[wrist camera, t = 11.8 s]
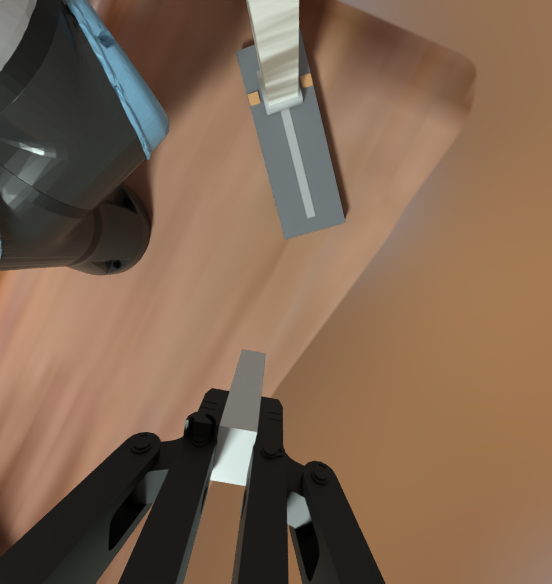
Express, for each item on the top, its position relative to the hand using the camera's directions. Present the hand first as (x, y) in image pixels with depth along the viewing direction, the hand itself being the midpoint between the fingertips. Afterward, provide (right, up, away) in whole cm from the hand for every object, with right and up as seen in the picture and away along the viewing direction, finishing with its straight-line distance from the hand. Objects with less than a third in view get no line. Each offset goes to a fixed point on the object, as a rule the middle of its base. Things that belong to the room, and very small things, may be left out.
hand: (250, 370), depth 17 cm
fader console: (+4, +27, +23) cm, 36 cm away
